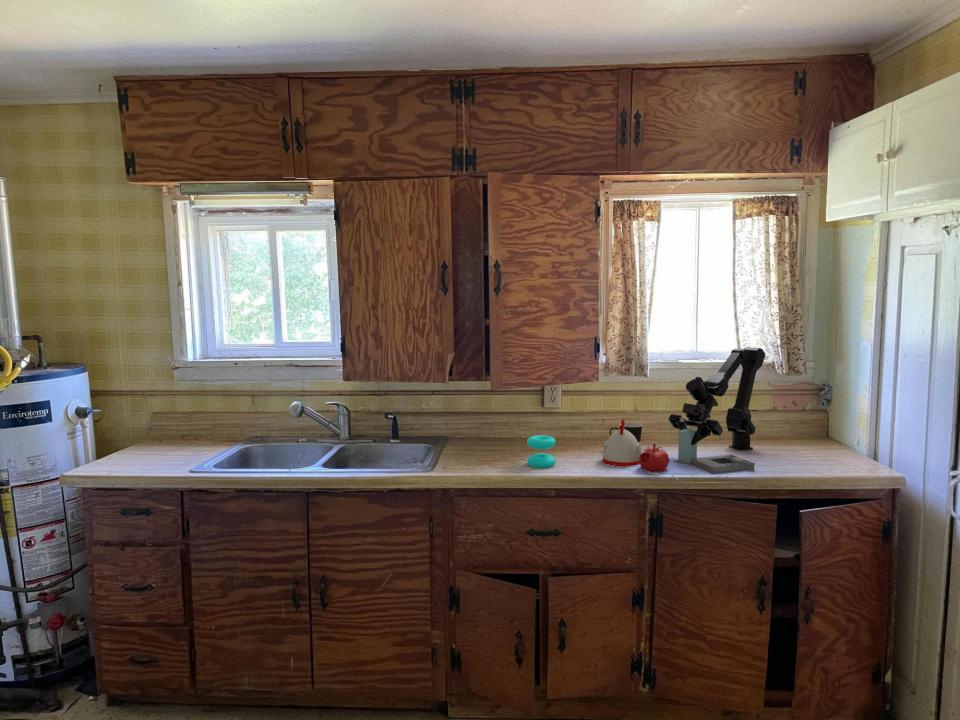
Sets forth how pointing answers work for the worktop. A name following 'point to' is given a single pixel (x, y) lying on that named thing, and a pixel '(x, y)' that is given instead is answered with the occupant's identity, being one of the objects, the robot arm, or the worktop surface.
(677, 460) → the mat
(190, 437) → the worktop surface
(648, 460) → the pomegranate
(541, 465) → the donuts
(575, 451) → the worktop surface
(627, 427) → the coffee mug
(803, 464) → the worktop surface
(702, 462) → the plate
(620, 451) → the kitchen timer
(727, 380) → the robot arm
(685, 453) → the block
